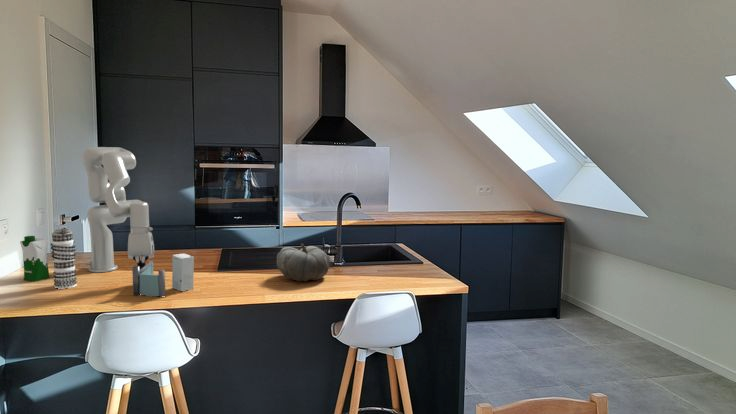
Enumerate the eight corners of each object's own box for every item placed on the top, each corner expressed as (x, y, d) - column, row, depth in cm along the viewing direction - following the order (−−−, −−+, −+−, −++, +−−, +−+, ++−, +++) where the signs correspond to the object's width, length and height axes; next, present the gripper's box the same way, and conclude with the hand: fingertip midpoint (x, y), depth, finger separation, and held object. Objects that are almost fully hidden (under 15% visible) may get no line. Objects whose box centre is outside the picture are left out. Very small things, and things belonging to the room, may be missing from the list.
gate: (140, 291, 213) (139, 271, 212) (136, 291, 213) (135, 271, 212) (153, 279, 231) (152, 261, 230) (150, 279, 231) (149, 261, 229)
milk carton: (20, 280, 230) (17, 236, 227) (39, 275, 238) (36, 233, 236) (34, 282, 227) (31, 238, 224) (53, 277, 235) (50, 234, 233)
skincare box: (171, 288, 221) (170, 254, 219) (184, 285, 226) (183, 252, 224) (182, 292, 216) (181, 258, 214) (195, 289, 220) (194, 255, 218)
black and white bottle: (51, 285, 222) (48, 229, 219) (76, 282, 228) (72, 227, 225) (54, 290, 215) (50, 232, 212) (79, 287, 221) (76, 230, 217)
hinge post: (132, 295, 210) (130, 267, 208) (136, 293, 213) (134, 265, 211) (138, 296, 210) (137, 267, 208) (142, 294, 212) (141, 266, 211)
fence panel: (139, 296, 210) (138, 270, 208) (143, 294, 212) (142, 268, 211) (163, 297, 208) (162, 271, 207) (166, 296, 210) (165, 270, 209)
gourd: (263, 273, 238) (270, 237, 237) (300, 271, 258) (307, 238, 257) (300, 288, 223) (308, 250, 222) (337, 285, 243) (344, 250, 242)
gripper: (160, 228, 228) (161, 268, 230) (124, 228, 226) (126, 269, 228) (155, 231, 220) (157, 272, 223) (119, 231, 218) (120, 273, 221)
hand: (141, 270), depth 225 cm, fingers closed
